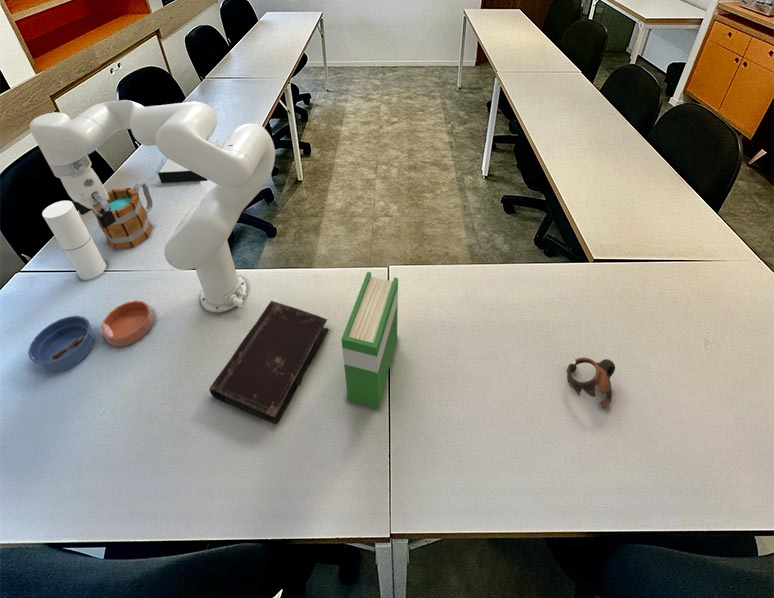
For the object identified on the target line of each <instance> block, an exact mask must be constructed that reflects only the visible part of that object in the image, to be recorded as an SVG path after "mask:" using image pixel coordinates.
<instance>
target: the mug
mask: <svg viewBox="0 0 774 598" xmlns="http://www.w3.org/2000/svg"><path fill="white" fill-rule="evenodd" d="M140 188H142V191H143V195H144V197H145V200H146V204H147V205H146V207H144V205H143V203H142V201H141V199H140V198H141V197H140V194H139V192H140ZM106 192H107V194H108V196H109V200H107V202H108V203H109V206H110V207H111V211H112V213H113V215H114V217H115V219H116V222H114V223H113V224H111V225H110V226H108V227H106V228H103V227H102V226H101V224H100V222H99V220H98V218H97V216H98V214H97V213H96V212H95V211H94V210H93V209H92V210H91V211H92V213H93V214H94V216H95V217H96V220H97V223H98V226H99V228H100V229H101V230H102V233H103V234H104V236H105V238H106V242H107V244H108V245H110V246H111V247H112V248H113V249H114V250H124V249H132V248H135V247H136V246H138V245H140V244H141V243H143V242H144V241H146V240H147V239H149V238H150V234H151V232H152V230H153V226H152V224H151V223H150V221H149V218H148V215H147V214H148V213H150V212H151V210H152V208H153V199H152V195H151V193H150V189H149V186H148V185H147V184H146V183H145V182H144V181H140V182H137V183H135V184H134V186H133V189H132V187H124V188H117V189H112V190H109V191H106ZM97 203H98V202H97V201H95V202H94V205H95V204H97ZM97 209H98V210H99V211H100V210H101V209H102V207H101V205H99V206H97Z"/></svg>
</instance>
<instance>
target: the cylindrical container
mask: <svg viewBox="0 0 774 598" xmlns="http://www.w3.org/2000/svg"><path fill="white" fill-rule="evenodd" d="M41 216H42V217H43V219H44V220H45V222H46V224H47V226H48V228H49V229H50V231H51V232H52V234H53V235H54V237H55V238H56V241H57V242H58V243H59V246H60V247H61V248H62V250H63V252H64V254H65V255H66V257H67V258H68V260H69V262H70V263H71V265H72V267H73V268H74V270H75V272H76V273H77V275H78V276H79V278H80V279H81V280H83V281H85V280H86V281H87V280H92V279H95V278H97V277H99V276H101V275H102V273H104V271H105V270H106V268H107V263H106V262H105V260H104V258H103V256H102V254H101V253H100V251H99V248H98V247H97V245H96V243H95V241H94V240H93V238H92V236H91V234H90V232H89V231H88V229H87V227H86V225H85V223H84V221H83V218H81V215H80V213H79V211H78V209H77V207H76V205H75V204H74V202H73V201H71V200H60V201H56V202H54V203H52V204H50V205H48V206H47V207H45V208H44V209H43V210H42V213H41Z"/></svg>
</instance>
